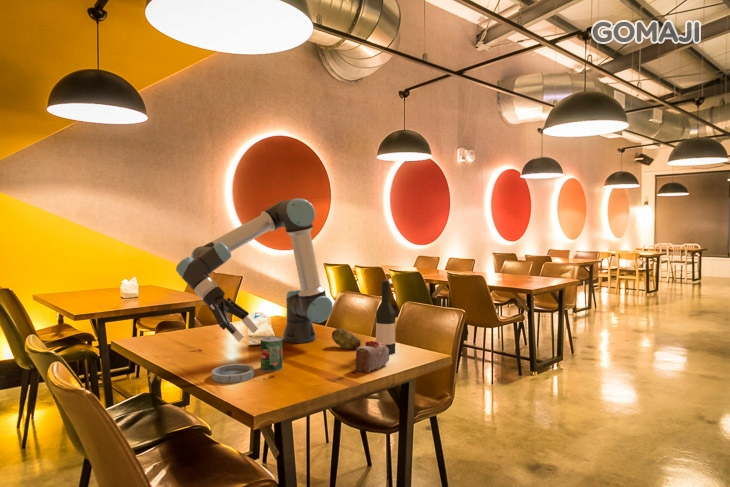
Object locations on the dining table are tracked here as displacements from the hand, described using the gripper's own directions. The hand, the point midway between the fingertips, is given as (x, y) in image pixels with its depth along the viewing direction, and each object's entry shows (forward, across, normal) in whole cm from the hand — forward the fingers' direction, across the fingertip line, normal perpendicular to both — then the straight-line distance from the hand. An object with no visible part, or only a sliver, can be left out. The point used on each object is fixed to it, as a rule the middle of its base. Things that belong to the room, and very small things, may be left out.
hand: (249, 334), depth 169 cm
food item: (+40, -7, +23) cm, 47 cm away
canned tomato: (+15, -1, -3) cm, 15 cm away
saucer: (+8, +10, -10) cm, 16 cm away
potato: (+30, -34, +12) cm, 47 cm away
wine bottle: (+42, -29, +25) cm, 57 cm away
